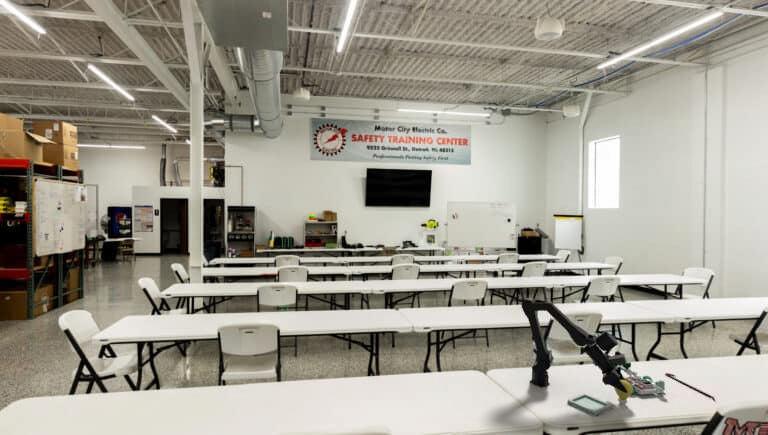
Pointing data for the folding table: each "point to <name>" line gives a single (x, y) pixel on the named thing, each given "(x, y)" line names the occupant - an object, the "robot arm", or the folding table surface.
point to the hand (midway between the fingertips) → (627, 389)
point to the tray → (590, 404)
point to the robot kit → (642, 382)
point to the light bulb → (622, 395)
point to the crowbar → (689, 386)
